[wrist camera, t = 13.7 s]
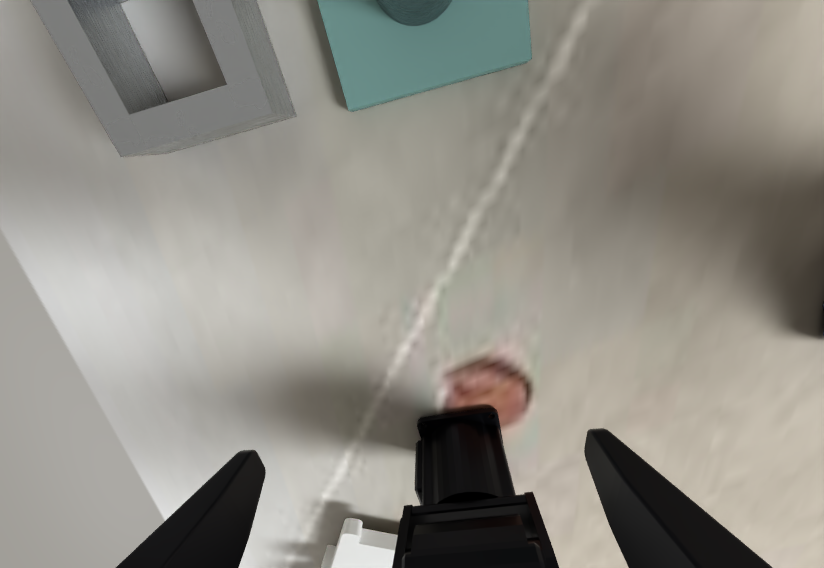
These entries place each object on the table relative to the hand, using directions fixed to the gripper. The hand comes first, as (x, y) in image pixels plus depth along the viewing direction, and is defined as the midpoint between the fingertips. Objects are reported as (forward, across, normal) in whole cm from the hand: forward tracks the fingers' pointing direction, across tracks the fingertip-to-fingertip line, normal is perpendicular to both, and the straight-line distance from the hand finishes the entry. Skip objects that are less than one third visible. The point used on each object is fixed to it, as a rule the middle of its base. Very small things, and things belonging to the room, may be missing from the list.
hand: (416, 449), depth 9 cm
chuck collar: (+14, +10, -13) cm, 21 cm away
